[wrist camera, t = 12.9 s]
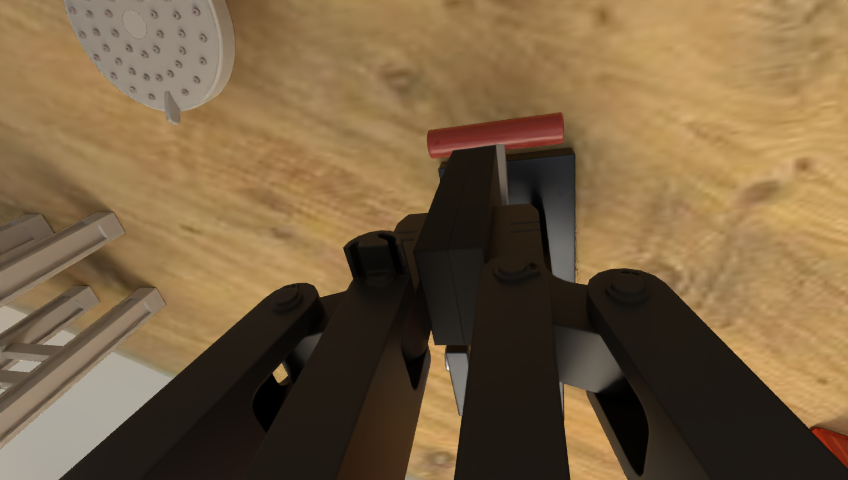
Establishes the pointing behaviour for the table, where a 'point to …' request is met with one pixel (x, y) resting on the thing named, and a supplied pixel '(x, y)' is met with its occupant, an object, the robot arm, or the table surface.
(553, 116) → the tap lever
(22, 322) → the stool
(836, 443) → the file binder
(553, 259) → the tap mount
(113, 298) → the table surface
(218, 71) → the showerhead
